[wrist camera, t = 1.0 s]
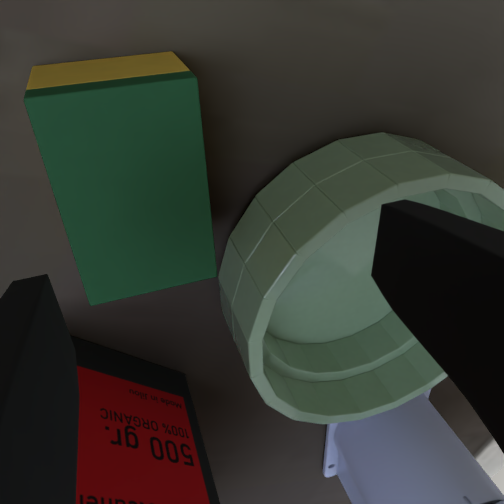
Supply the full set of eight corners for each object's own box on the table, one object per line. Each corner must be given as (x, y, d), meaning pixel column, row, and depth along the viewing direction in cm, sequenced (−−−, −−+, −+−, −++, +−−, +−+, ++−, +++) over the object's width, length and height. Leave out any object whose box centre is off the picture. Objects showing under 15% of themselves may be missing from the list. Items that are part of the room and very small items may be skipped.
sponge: (194, 225, 19) (217, 277, 17) (86, 247, 18) (90, 307, 15) (172, 50, 15) (197, 77, 12) (31, 65, 14) (22, 98, 11)
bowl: (427, 318, 29) (484, 378, 25) (225, 376, 25) (254, 456, 22) (480, 109, 21) (574, 148, 17) (202, 155, 18) (240, 215, 14)
